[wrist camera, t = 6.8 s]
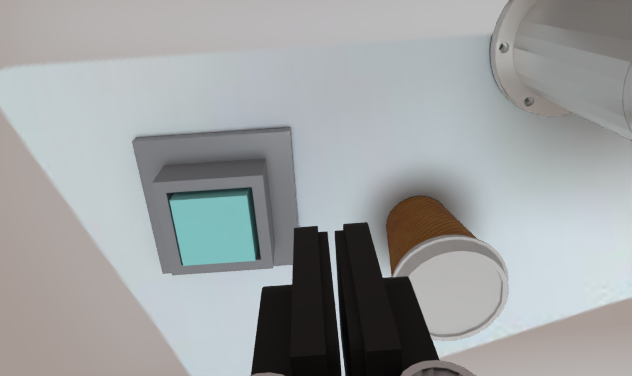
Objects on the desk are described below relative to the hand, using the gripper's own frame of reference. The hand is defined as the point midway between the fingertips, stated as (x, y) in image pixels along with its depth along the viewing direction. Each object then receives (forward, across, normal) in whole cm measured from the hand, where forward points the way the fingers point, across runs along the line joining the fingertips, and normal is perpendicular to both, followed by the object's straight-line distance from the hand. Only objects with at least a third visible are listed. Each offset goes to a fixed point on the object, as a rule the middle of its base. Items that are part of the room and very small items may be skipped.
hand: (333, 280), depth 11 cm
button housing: (+32, +9, +13) cm, 36 cm away
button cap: (+30, +9, +13) cm, 34 cm away
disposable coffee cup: (+32, -10, +17) cm, 38 cm away
